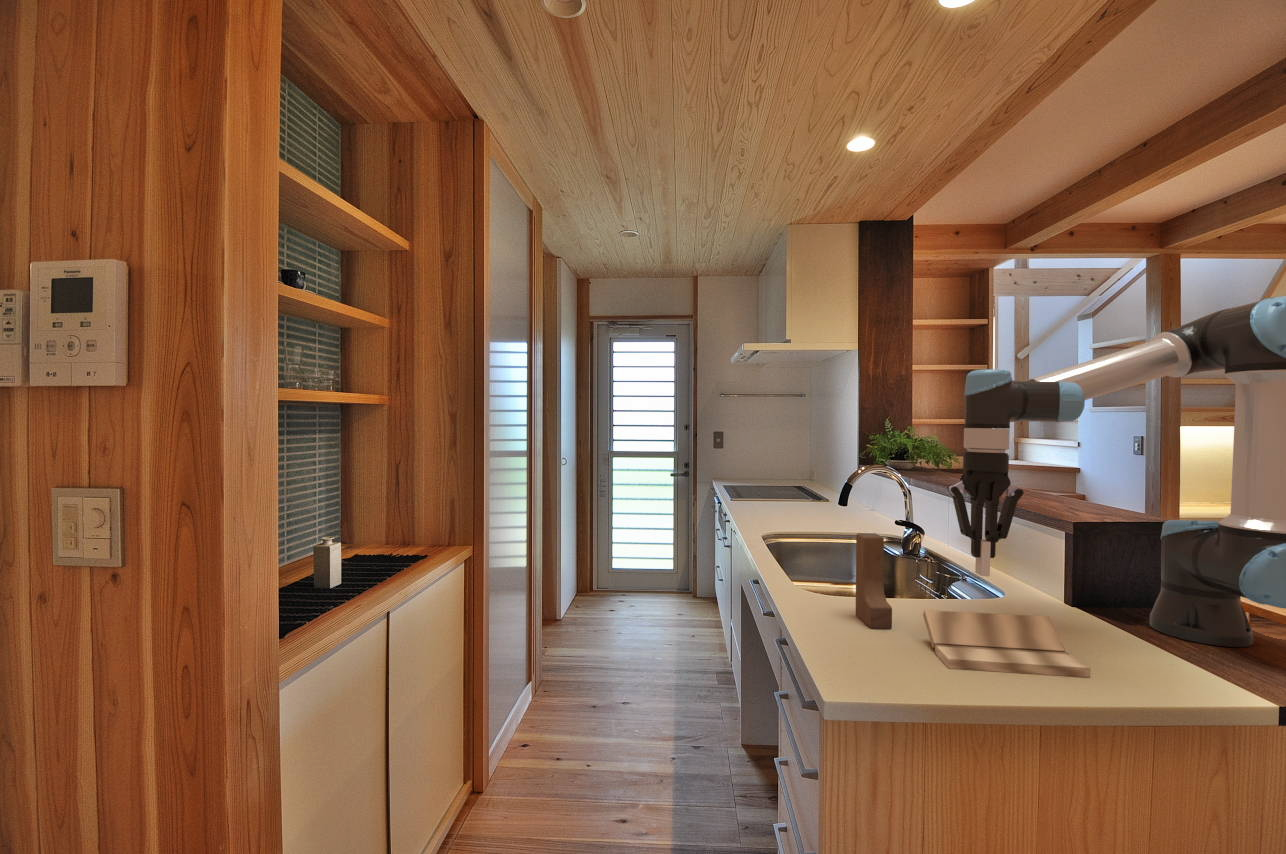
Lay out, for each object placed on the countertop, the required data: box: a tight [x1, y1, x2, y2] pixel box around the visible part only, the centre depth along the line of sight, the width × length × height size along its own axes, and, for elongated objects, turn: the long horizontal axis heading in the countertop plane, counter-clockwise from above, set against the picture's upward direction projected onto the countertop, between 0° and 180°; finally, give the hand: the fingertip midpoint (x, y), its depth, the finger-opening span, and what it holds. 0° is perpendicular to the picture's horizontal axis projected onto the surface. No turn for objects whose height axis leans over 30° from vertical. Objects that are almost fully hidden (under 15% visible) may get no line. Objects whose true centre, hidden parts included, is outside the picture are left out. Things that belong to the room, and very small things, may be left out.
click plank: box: [922, 609, 1067, 653], centre depth 108 cm, size 22×7×2 cm
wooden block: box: [855, 532, 893, 630], centre depth 123 cm, size 9×4×18 cm, turn 179°
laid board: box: [934, 645, 1091, 679], centre depth 101 cm, size 22×6×2 cm, turn 82°
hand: (982, 574), depth 111 cm, fingers closed
